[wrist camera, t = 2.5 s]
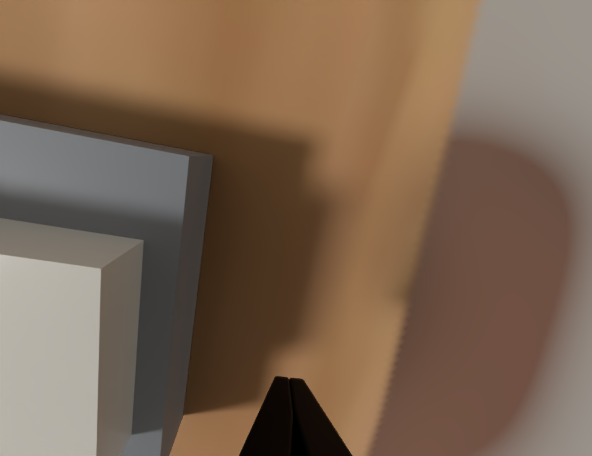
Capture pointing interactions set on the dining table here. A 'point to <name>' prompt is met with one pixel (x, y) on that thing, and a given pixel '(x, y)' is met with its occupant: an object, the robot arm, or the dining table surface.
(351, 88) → the dining table surface
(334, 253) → the dining table surface
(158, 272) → the plate
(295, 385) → the robot arm
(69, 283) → the tile
